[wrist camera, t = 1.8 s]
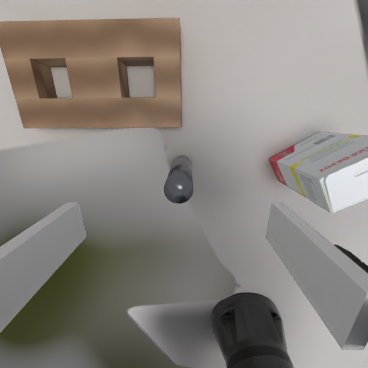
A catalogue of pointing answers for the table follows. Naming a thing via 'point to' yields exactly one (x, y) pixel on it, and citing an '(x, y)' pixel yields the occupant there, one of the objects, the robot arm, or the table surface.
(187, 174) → the pin
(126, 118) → the socket block
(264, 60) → the table surface
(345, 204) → the ink box
